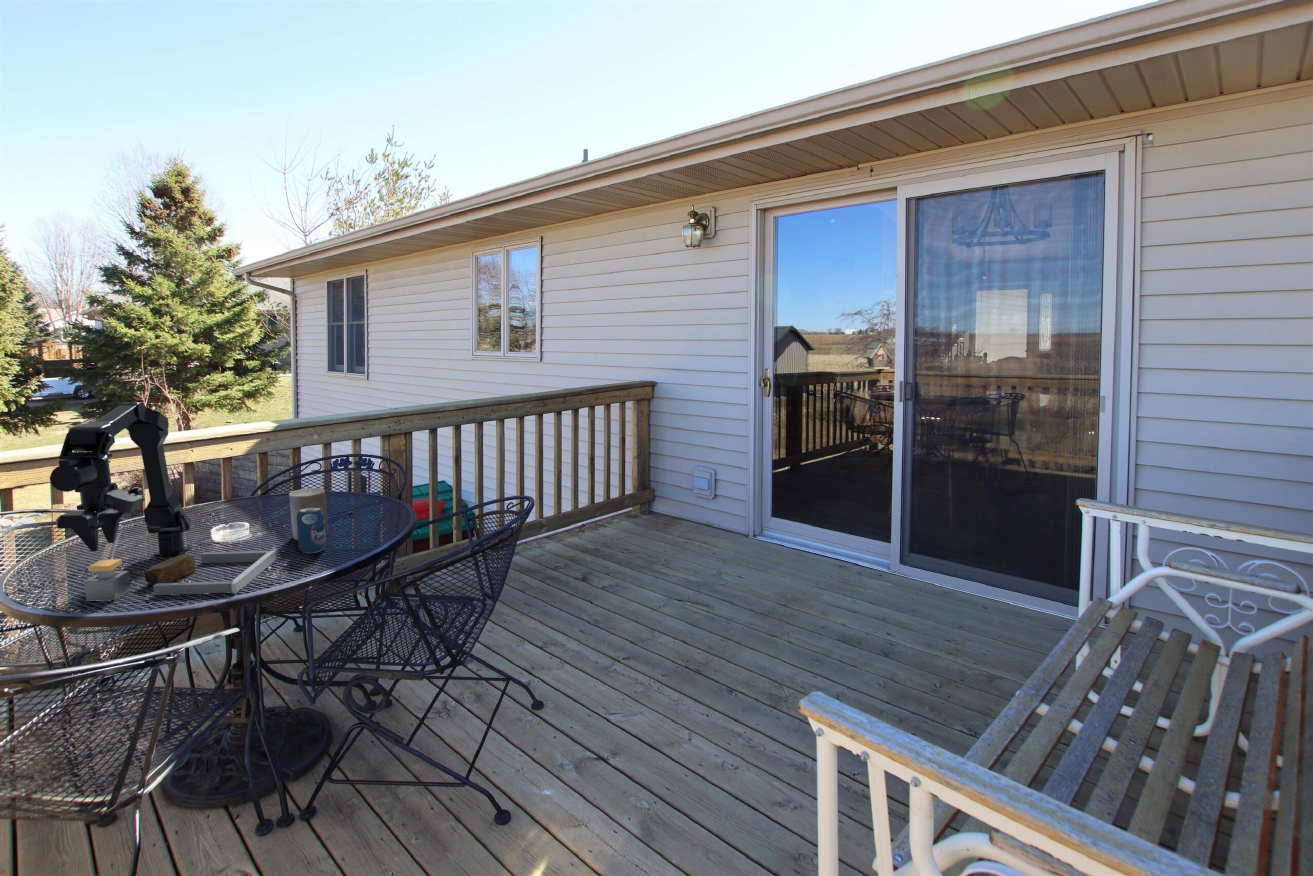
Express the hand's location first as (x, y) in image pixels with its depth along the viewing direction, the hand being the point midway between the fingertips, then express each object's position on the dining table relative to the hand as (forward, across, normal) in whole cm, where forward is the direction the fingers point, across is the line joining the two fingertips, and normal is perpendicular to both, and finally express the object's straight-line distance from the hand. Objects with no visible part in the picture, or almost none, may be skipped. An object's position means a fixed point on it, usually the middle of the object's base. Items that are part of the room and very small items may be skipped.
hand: (102, 547), depth 160 cm
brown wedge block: (+12, +11, -8) cm, 18 cm away
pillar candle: (+12, +43, -30) cm, 54 cm away
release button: (+9, 0, 0) cm, 9 cm away
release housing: (+12, 0, 0) cm, 12 cm away
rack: (+12, +11, -18) cm, 24 cm away
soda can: (+12, +30, -35) cm, 48 cm away
